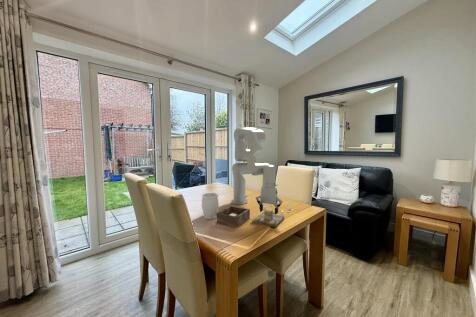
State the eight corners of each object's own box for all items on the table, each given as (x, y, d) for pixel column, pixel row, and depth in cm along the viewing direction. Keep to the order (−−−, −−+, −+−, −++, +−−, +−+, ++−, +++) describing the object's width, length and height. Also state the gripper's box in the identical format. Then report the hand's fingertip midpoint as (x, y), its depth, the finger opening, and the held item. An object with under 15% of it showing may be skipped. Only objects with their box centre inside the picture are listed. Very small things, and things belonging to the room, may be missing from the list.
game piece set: (271, 204, 166) (271, 199, 166) (295, 209, 154) (295, 204, 153) (257, 210, 152) (257, 205, 151) (282, 217, 139) (283, 211, 138)
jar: (202, 221, 132) (201, 197, 130) (201, 215, 142) (201, 193, 140) (219, 220, 134) (219, 196, 132) (217, 214, 144) (217, 192, 142)
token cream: (232, 216, 136) (232, 213, 136) (237, 217, 134) (237, 214, 134) (228, 218, 133) (228, 215, 132) (234, 220, 131) (234, 216, 130)
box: (230, 215, 140) (230, 205, 140) (249, 220, 133) (249, 209, 133) (216, 224, 127) (216, 213, 126) (236, 229, 120) (236, 217, 119)
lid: (262, 215, 142) (263, 204, 141) (284, 219, 135) (284, 208, 134) (251, 224, 128) (251, 212, 127) (274, 229, 121) (275, 217, 120)
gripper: (284, 185, 128) (284, 213, 130) (258, 182, 137) (258, 208, 138) (280, 188, 121) (280, 217, 123) (253, 184, 130) (253, 211, 132)
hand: (268, 212), depth 131 cm, fingers open, 9 cm apart
